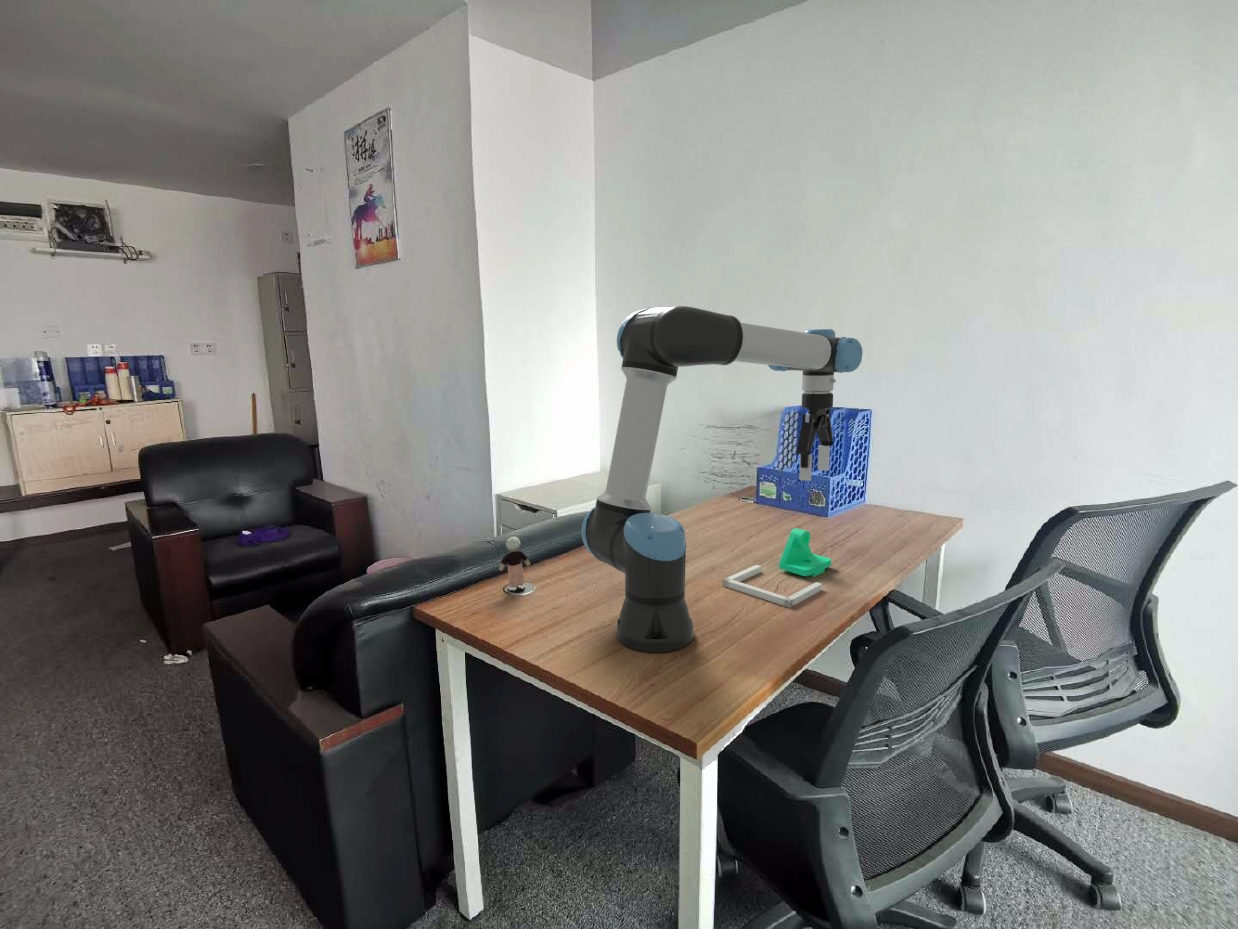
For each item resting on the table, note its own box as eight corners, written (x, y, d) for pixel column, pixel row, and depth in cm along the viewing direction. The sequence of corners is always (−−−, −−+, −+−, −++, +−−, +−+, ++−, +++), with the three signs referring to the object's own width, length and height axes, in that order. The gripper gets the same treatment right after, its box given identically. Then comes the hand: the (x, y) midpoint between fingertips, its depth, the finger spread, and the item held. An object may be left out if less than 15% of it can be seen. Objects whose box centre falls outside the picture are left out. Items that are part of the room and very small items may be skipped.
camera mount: (805, 581, 151) (807, 540, 149) (778, 572, 157) (780, 533, 155) (832, 569, 159) (834, 530, 157) (806, 561, 165) (808, 523, 163)
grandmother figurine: (523, 582, 152) (521, 532, 150) (533, 586, 149) (531, 535, 147) (496, 591, 147) (493, 539, 144) (506, 595, 144) (503, 542, 142)
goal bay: (756, 570, 158) (756, 564, 158) (821, 589, 145) (822, 583, 145) (722, 585, 149) (722, 579, 148) (789, 607, 136) (790, 601, 136)
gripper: (815, 397, 145) (812, 486, 149) (847, 388, 165) (844, 467, 169) (784, 396, 149) (781, 482, 153) (819, 387, 169) (816, 464, 173)
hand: (814, 475), depth 161 cm, fingers open, 13 cm apart
